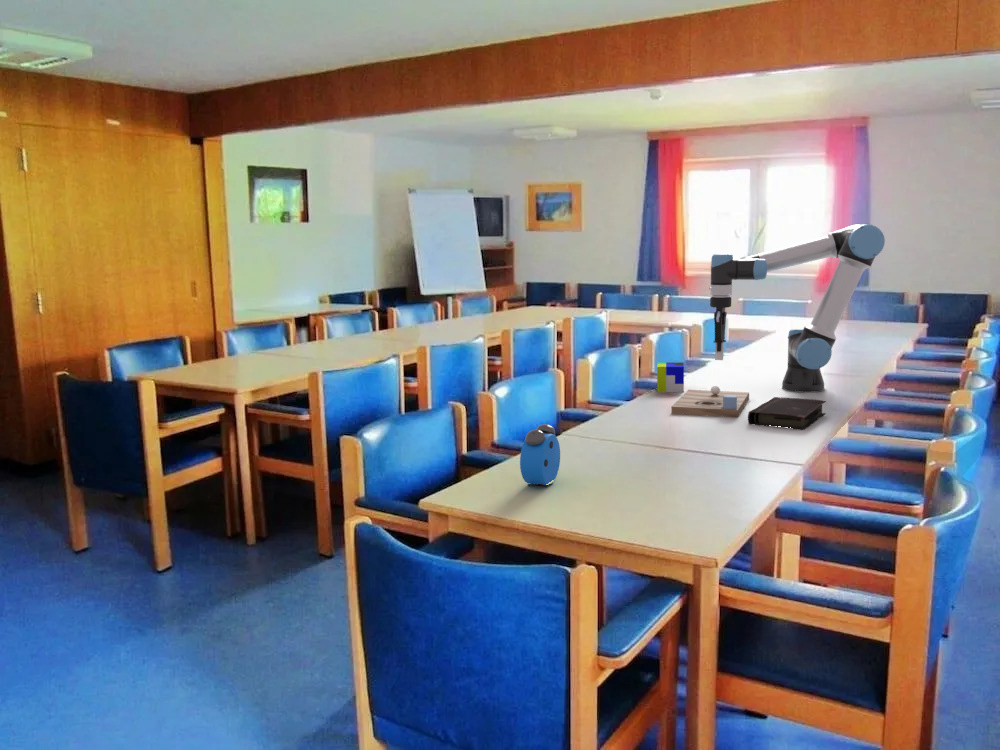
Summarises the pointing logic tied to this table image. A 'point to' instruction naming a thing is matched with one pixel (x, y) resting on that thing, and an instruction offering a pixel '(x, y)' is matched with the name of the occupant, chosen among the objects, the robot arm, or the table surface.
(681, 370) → the puzzle toy
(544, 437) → the alarm clock
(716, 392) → the ball
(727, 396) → the blue block
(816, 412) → the diary
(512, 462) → the table surface
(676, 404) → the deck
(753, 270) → the robot arm
